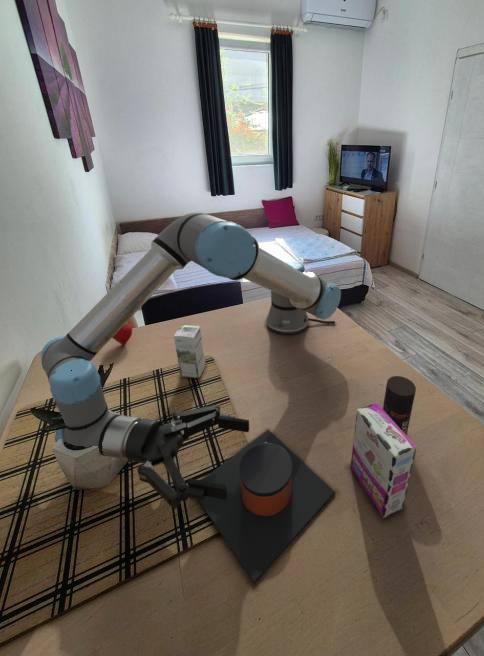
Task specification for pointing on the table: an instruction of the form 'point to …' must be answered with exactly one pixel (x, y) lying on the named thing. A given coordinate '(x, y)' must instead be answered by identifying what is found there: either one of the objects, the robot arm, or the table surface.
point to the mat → (263, 531)
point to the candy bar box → (382, 458)
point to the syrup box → (189, 351)
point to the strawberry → (123, 334)
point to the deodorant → (399, 401)
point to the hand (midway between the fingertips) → (238, 456)
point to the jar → (266, 479)
